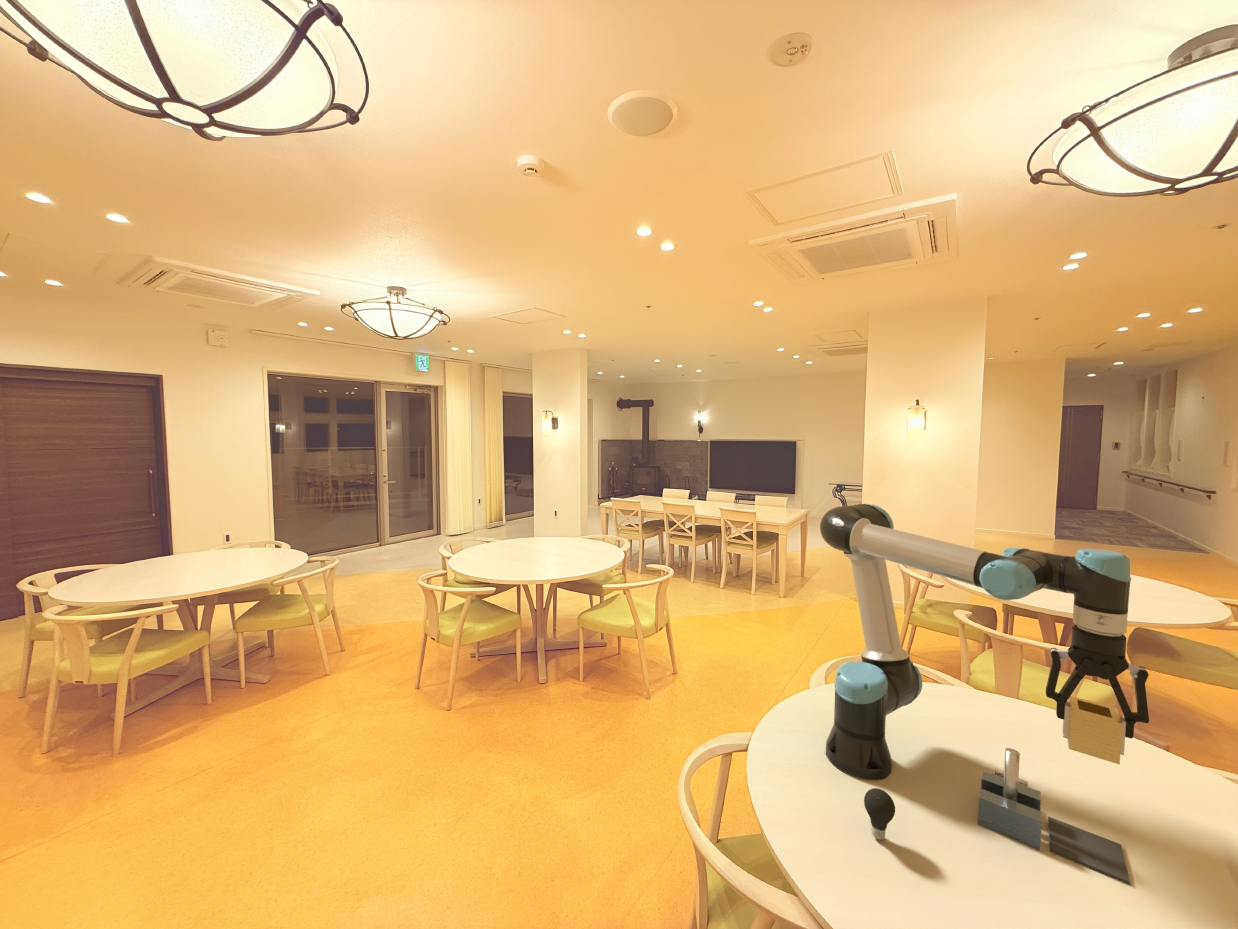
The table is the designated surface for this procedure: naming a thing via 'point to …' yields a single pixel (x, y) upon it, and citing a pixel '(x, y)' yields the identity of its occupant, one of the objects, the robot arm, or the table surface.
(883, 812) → the light bulb
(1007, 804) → the vise
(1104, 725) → the open wooden box
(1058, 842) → the mat
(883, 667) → the robot arm
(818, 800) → the table surface
